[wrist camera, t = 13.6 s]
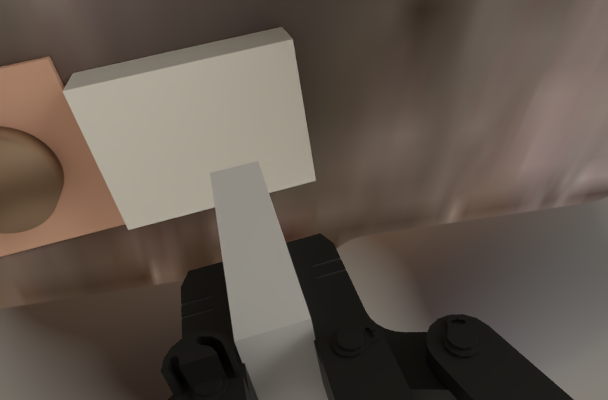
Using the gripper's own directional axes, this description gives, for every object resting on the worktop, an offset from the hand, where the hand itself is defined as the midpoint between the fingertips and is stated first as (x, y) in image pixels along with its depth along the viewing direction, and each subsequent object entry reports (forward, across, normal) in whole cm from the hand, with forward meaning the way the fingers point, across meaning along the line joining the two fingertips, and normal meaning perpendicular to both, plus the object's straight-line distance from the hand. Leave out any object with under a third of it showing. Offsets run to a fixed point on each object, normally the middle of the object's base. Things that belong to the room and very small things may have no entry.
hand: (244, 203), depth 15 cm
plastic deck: (+24, -2, -7) cm, 25 cm away
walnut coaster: (+24, -18, -7) cm, 30 cm away
